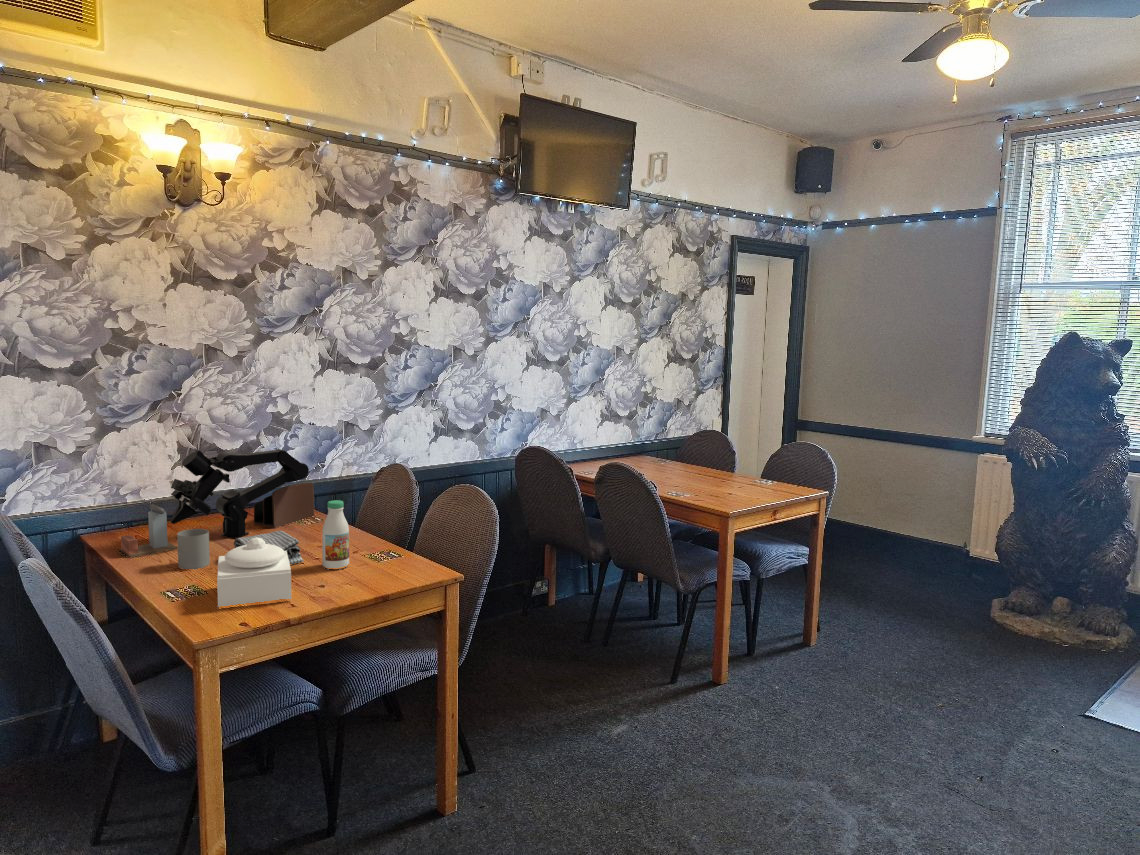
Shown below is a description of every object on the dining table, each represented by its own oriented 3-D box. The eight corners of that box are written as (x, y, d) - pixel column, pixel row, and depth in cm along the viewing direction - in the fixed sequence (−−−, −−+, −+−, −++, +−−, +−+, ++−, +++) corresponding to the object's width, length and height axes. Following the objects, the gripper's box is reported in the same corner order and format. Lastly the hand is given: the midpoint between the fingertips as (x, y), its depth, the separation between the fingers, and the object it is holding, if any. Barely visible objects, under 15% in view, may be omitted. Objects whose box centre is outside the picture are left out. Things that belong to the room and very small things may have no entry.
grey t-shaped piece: (160, 542, 248) (159, 503, 246) (170, 547, 242) (168, 507, 241) (147, 544, 245) (145, 504, 243) (156, 549, 239) (154, 509, 238)
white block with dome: (218, 610, 196) (216, 549, 194) (219, 587, 212) (217, 531, 210) (291, 602, 203) (290, 543, 201) (287, 580, 219) (286, 526, 217)
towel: (281, 550, 247) (280, 526, 246) (304, 564, 234) (304, 539, 233) (232, 558, 237) (231, 533, 236) (253, 574, 224) (253, 548, 223)
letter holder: (314, 517, 289) (314, 480, 287) (274, 529, 271) (273, 489, 269) (294, 513, 293) (294, 477, 291) (253, 525, 275) (252, 486, 273)
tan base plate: (166, 543, 250) (166, 528, 249) (177, 549, 244) (176, 534, 243) (120, 551, 240) (119, 535, 239) (130, 557, 234) (129, 541, 233)
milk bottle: (317, 568, 230) (316, 502, 227) (333, 561, 237) (332, 497, 235) (338, 572, 228) (338, 505, 225) (354, 564, 235) (354, 500, 232)
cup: (174, 564, 229) (172, 532, 228) (202, 559, 235) (201, 527, 234) (185, 571, 223) (184, 538, 222) (214, 565, 229) (213, 533, 228)
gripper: (176, 465, 254) (141, 503, 247) (199, 474, 241) (162, 514, 235) (202, 485, 260) (168, 522, 254) (225, 495, 248) (190, 534, 241)
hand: (171, 523), depth 246 cm, fingers closed
